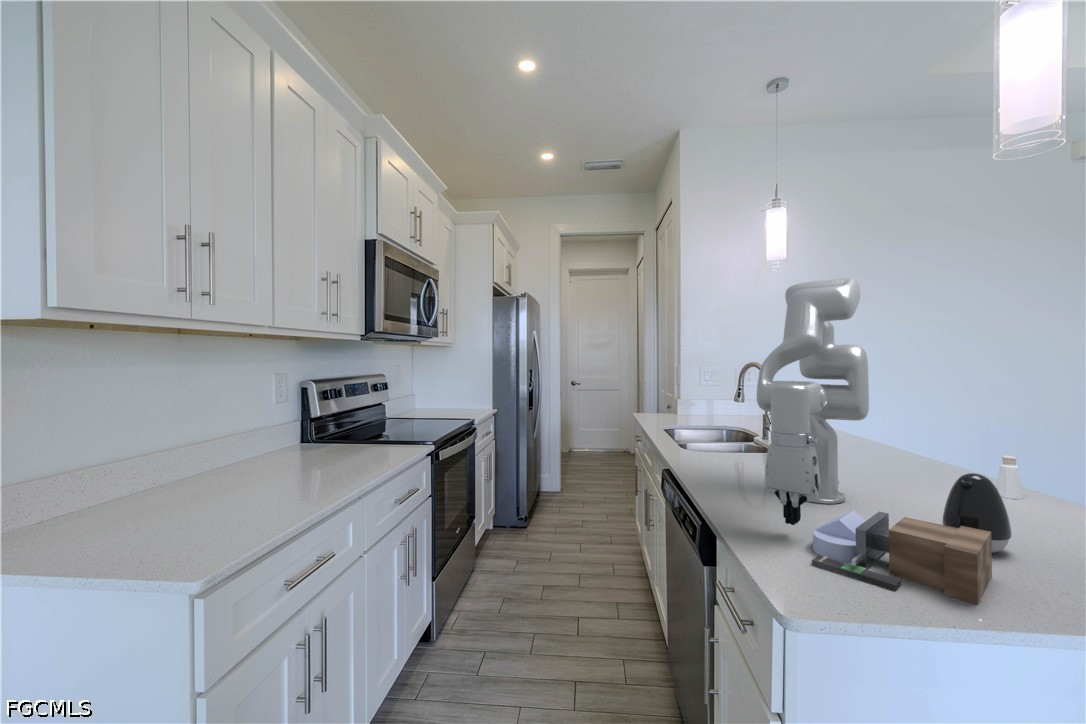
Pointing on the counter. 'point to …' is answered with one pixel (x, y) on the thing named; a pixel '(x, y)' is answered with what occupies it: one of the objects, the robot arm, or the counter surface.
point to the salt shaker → (1009, 479)
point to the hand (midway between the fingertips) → (792, 522)
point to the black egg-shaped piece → (978, 508)
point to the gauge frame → (930, 559)
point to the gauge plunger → (871, 540)
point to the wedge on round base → (838, 537)
